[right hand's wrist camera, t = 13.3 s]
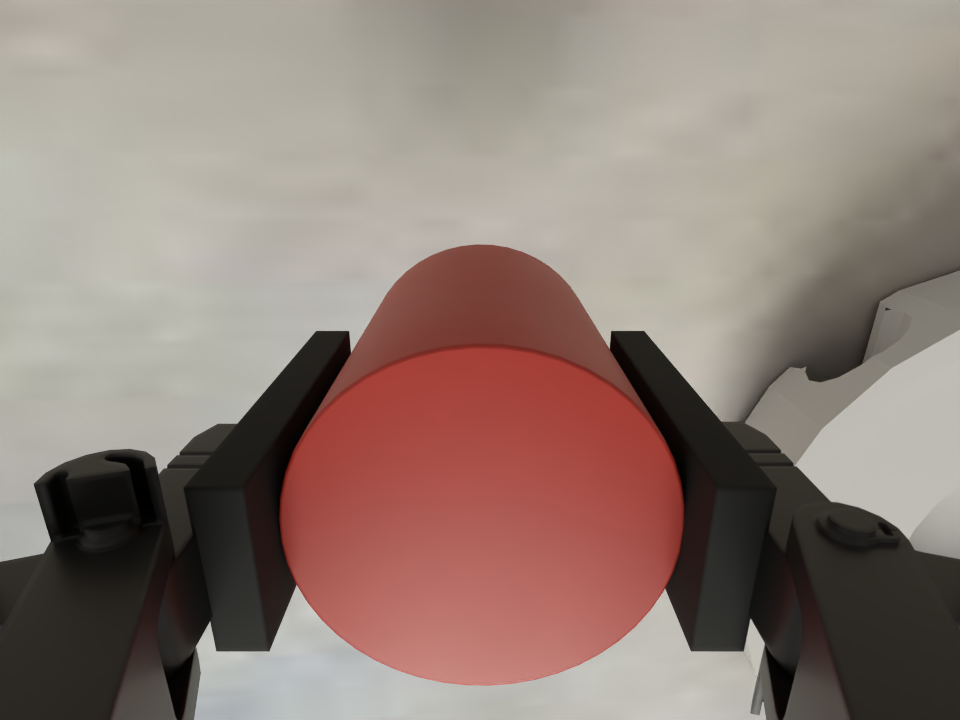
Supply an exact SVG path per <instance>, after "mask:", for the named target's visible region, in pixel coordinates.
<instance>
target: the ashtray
mask: <svg viewBox="0 0 960 720" xmlns="http://www.w3.org/2000/svg"><path fill="white" fill-rule="evenodd" d="M805 370H806V367H804V368H801V369H800V368H794V367H790V368H788V369H787V370H786V371H785V372H784V373H783V374H782V375H781V376H780V377H779V378H778V379H777V380H775V381H774V382H773V383H772V384H771V385H770V386H769V388H768V389H767V391H766V392H765V394H764V395H763V396H762V398H761V399H760V401H759V402H758V404H757V405H756V407H755V408H754V410H753V411H752V413H751V414H750V415H749V417H748V418H747V420H746V421H745V423H746V424H747V425H749V426H751V427H753V428H755V429H757V430H758V431H760V432H762V433H764V434H766V435H767V436H768V437H769V438H770V439H771V440H772V441H773V442H774V443H775V444H776V445H777V446H778V447H779V448H780V450H781V453H784V454H785V455H786V456H787V457H788V458H789V459H790V460H791V461H792V462H793V465H794V466H797V467H798V468H799V469H800V470H801V471H802V472H803V473H804V474H805V475H806V476H807V477H808V479H809V480H810V481H811V482H812V483H813V484H814V485H815V486H816V487H817V488H818V489H819V490H820V491H821V492H822V493H823V494H824V495H825V496H826V497H827V498H828V499H829V500H830V501H831V502H838V503H843V504H847V505H851V506H855V507H859V508H862V509H864V510H866V511H869V512H871V513H874V514H876V515H878V516H881V517H882V518H884V519H885V520H887V521H888V522H890V523H891V524H893V525H894V526H896V527H898V528H899V529H900V531H901V532H902V533H903V534H904V535H905V536H906V537H907V538H908V540H909V541H910V543H911V544H912V546H913V548H914V550H916V551H920V552H925V553H930V554H935V555H941V556H946V557H951V558H957V559H960V270H959V271H956V272H953V273H950V274H947V275H944V276H941V277H938V278H935V279H932V280H929V281H926V282H923V283H920V284H917V285H914V286H911V287H908V288H905V289H902V290H899V291H897V292H896V293H894V294H892V295H890V296H889V297H887V298H885V299H884V300H882V301H880V303H879V307H878V310H877V314H876V317H875V321H874V324H873V328H872V332H871V335H870V339H869V342H868V346H867V349H866V353H865V356H864V360H863V363H862V365H860V366H859V367H857V368H855V369H853V370H851V371H849V372H847V373H846V374H844V375H842V376H840V377H838V378H834V379H831V380H827V381H824V382H815V381H810V380H808V377H807V375H806V373H805ZM764 644H765V643H764V641H763V639H762V638H761V636H760V634H759V632H758V630H757V629H756V627H755V625H754V623H753V622H752V620H751V619H750V624H749V629H748V634H747V639H746V643H745V648H744V653H745V655H746V657H747V659H748V661H749V663H750V665H751V667H752V669H753V671H754V673H755V674H756V676H758V672H759V667H760V663H761V658H762V654H763V649H764Z"/></svg>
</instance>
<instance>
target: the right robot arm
mask: <svg viewBox="0 0 960 720" xmlns="http://www.w3.org/2000/svg"><path fill="white" fill-rule="evenodd" d="M610 351H611V353H612V354H613V356H614V357H615V359H616V361H617V362H618V364H619V366H620V367H621V369H622V370H623V372H624V374H625V375H626V377H627V379H628V380H629V382H630V383H631V385H632V387H633V388H634V390H635V392H636V393H637V395H638V396H639V398H640V400H641V401H642V403H643V405H644V406H645V408H646V409H647V411H648V413H649V414H650V416H651V418H652V419H653V421H654V422H655V424H656V426H657V427H658V429H659V431H660V432H661V434H662V435H663V437H664V439H665V441H666V443H667V445H668V447H669V449H670V451H671V453H672V455H673V457H674V459H675V462H676V466H677V469H678V472H679V475H680V479H681V482H682V489H683V496H684V503H685V514H684V527H683V534H682V540H681V547H680V553H679V556H678V559H677V562H676V565H675V568H674V571H673V573H672V575H671V577H670V579H669V581H668V583H667V585H666V587H665V589H666V591H667V594H668V596H669V599H670V601H671V603H672V606H673V608H674V611H675V613H676V616H677V618H678V620H679V623H680V625H681V628H682V630H683V633H684V635H685V637H686V640H687V642H688V645H689V647H690V650H691V651H744V648H745V643H746V639H747V634H748V629H749V624H750V619H751V620H752V622H753V623H754V625H755V627H756V629H757V630H758V632H759V634H760V636H761V638H762V639H763V641H764V643H765V644H764V649H763V654H762V658H761V663H760V667H759V672H758V676H757V681H756V686H755V690H754V695H753V699H752V706H751V713H752V714H756V715H759V714H760V710H761V705H762V702H763V701H764V706H765V713H766V720H960V559H957V558H951V557H946V556H941V555H935V554H930V553H925V552H920V551H916V550H914V548H913V546H912V544H911V543H910V541H909V540H908V538H907V537H906V536H905V535H904V534H903V533H902V532H901V531H900V529H899V528H898V527H896V526H894V525H893V524H891V523H890V522H888V521H887V520H885V519H884V518H882V517H881V516H878V515H876V514H874V513H871V512H869V511H866V510H864V509H862V508H859V507H855V506H851V505H847V504H843V503H838V502H831V501H830V500H829V499H828V498H827V497H826V496H825V495H824V494H823V493H822V492H821V491H820V490H819V489H818V488H817V487H816V486H815V485H814V484H813V483H812V482H811V481H810V480H809V479H808V477H807V476H806V475H805V474H804V473H803V472H802V471H801V470H800V469H799V468H798V467H797V466H794V465H793V462H792V461H791V460H790V459H789V458H788V457H787V456H786V455H785V454H784V453H781V450H780V448H779V447H778V446H777V445H776V444H775V443H774V442H773V441H772V440H771V439H770V438H769V437H768V436H767V435H766V434H764V433H762V432H760V431H758V430H757V429H755V428H753V427H751V426H749V425H747V424H746V423H744V422H721V421H720V420H719V419H718V418H717V416H716V415H715V414H714V413H713V412H712V410H711V409H710V408H709V407H708V406H707V405H706V403H705V402H704V401H703V400H702V399H701V398H700V396H699V395H698V394H697V393H696V392H695V390H694V389H693V388H692V387H691V386H690V385H689V383H688V382H687V381H686V380H685V379H684V377H683V376H682V375H681V374H680V373H679V372H678V370H677V369H676V368H675V367H674V366H673V365H672V363H671V362H670V361H669V360H668V359H667V357H666V356H665V355H664V354H663V353H662V352H661V350H660V349H659V348H658V347H657V346H656V345H655V343H654V342H653V341H652V340H651V339H650V337H649V336H648V335H647V334H646V333H645V332H644V331H611V342H610ZM350 355H351V349H350V337H349V331H316V332H315V333H314V334H313V336H312V337H311V338H310V339H309V340H308V342H307V343H306V344H305V345H304V346H303V347H302V349H301V350H300V351H299V352H298V353H297V354H296V356H295V357H294V358H293V359H292V360H291V362H290V363H289V364H288V365H287V366H286V367H285V369H284V370H283V371H282V372H281V373H280V374H279V376H278V377H277V378H276V379H275V380H274V382H273V383H272V384H271V385H270V386H269V387H268V389H267V390H266V391H265V392H264V393H263V394H262V396H261V397H260V398H259V399H258V400H257V402H256V403H255V404H254V405H253V406H252V407H251V409H250V410H249V411H248V412H247V413H246V414H245V416H244V417H243V418H242V419H241V420H240V422H239V423H238V424H217V425H215V426H213V427H212V428H210V429H208V430H206V431H204V432H203V433H201V434H199V435H197V436H195V437H194V438H193V439H192V440H191V441H190V442H189V443H188V444H187V445H186V446H185V447H184V448H183V449H182V450H181V452H180V455H177V456H176V457H175V458H174V459H173V460H172V461H171V462H170V463H169V464H168V465H167V469H163V470H162V471H161V472H160V473H159V475H158V471H157V466H156V461H155V458H154V457H153V456H151V455H150V454H148V453H147V452H144V451H138V450H133V449H122V450H108V451H103V452H98V453H93V454H89V455H85V456H82V457H79V458H77V459H74V460H71V461H68V462H65V463H63V464H61V465H59V466H58V467H56V468H54V469H52V470H50V471H48V472H47V473H45V474H44V475H43V476H42V477H41V478H40V479H39V480H38V481H36V482H35V483H34V487H35V490H36V494H37V497H38V500H39V503H40V507H41V510H42V513H43V517H44V520H45V523H46V526H47V530H48V533H49V536H50V539H51V542H50V544H49V546H48V547H47V549H46V551H45V553H44V554H40V555H34V556H29V557H24V558H19V559H13V560H8V561H3V562H0V720H194V715H195V708H196V701H197V694H198V687H199V680H200V674H201V672H200V664H199V658H198V654H197V649H196V645H197V643H198V642H199V640H200V638H201V636H202V634H203V633H204V631H205V629H206V627H207V626H208V624H209V622H211V627H212V632H213V636H214V641H215V646H216V651H270V648H271V646H272V643H273V641H274V638H275V636H276V634H277V631H278V629H279V626H280V624H281V621H282V619H283V617H284V614H285V612H286V609H287V607H288V604H289V602H290V600H291V597H292V595H293V592H294V590H295V587H296V585H297V584H296V582H295V580H294V577H293V575H292V573H291V571H290V568H289V566H288V564H287V560H286V556H285V552H284V549H283V545H282V541H281V531H280V522H279V509H280V494H281V489H282V484H283V480H284V475H285V471H286V469H287V466H288V464H289V461H290V458H291V456H292V453H293V451H294V449H295V447H296V445H297V444H298V442H299V440H300V438H301V437H302V435H303V433H304V431H305V430H306V428H307V426H308V425H309V423H310V421H311V420H312V418H313V416H314V415H315V413H316V411H317V410H318V408H319V406H320V405H321V403H322V401H323V400H324V398H325V396H326V395H327V393H328V391H329V390H330V388H331V386H332V385H333V383H334V381H335V380H336V378H337V376H338V375H339V373H340V371H341V370H342V368H343V366H344V365H345V363H346V361H347V360H348V358H349V356H350Z"/></svg>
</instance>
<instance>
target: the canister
mask: <svg viewBox="0 0 960 720" xmlns="http://www.w3.org/2000/svg"><path fill="white" fill-rule="evenodd" d="M684 514H685V503H684V496H683V489H682V482H681V479H680V475H679V472H678V469H677V466H676V462H675V459H674V457H673V455H672V453H671V451H670V449H669V447H668V445H667V443H666V441H665V439H664V437H663V435H662V434H661V432H660V431H659V429H658V427H657V426H656V424H655V422H654V421H653V419H652V418H651V416H650V414H649V413H648V411H647V409H646V408H645V406H644V405H643V403H642V401H641V400H640V398H639V396H638V395H637V393H636V392H635V390H634V388H633V387H632V385H631V383H630V382H629V380H628V379H627V377H626V375H625V374H624V372H623V370H622V369H621V367H620V366H619V364H618V362H617V361H616V359H615V357H614V356H613V354H612V353H611V351H610V349H609V348H608V346H607V344H606V343H605V341H604V339H603V338H602V336H601V335H600V333H599V331H598V330H597V328H596V326H595V325H594V323H593V322H592V320H591V318H590V317H589V315H588V313H587V312H586V310H585V309H584V307H583V305H582V304H581V302H580V300H579V299H578V297H577V296H576V294H575V293H574V292H573V290H572V289H571V287H570V286H569V285H568V284H567V283H566V281H565V280H564V279H563V278H562V277H561V276H560V275H559V274H558V273H556V272H555V271H554V270H553V269H552V268H550V267H549V266H548V265H546V264H545V263H543V262H541V261H540V260H538V259H536V258H534V257H532V256H530V255H528V254H526V253H523V252H521V251H517V250H514V249H511V248H507V247H501V246H495V245H468V246H460V247H456V248H452V249H448V250H445V251H442V252H439V253H437V254H434V255H432V256H430V257H428V258H426V259H424V260H423V261H421V262H419V263H418V264H416V265H415V266H413V267H412V268H411V269H409V270H408V271H407V272H406V273H405V274H404V275H403V276H402V277H401V278H400V279H399V280H398V281H396V283H395V284H394V285H393V287H392V288H391V289H390V290H389V292H388V293H387V294H386V296H385V298H384V299H383V301H382V303H381V304H380V306H379V308H378V309H377V311H376V313H375V314H374V316H373V318H372V319H371V321H370V323H369V324H368V326H367V328H366V330H365V331H364V333H363V335H362V336H361V338H360V340H359V341H358V343H357V345H356V346H355V348H354V350H353V351H352V353H351V355H350V356H349V358H348V360H347V361H346V363H345V365H344V366H343V368H342V370H341V371H340V373H339V375H338V376H337V378H336V380H335V381H334V383H333V385H332V386H331V388H330V390H329V391H328V393H327V395H326V396H325V398H324V400H323V401H322V403H321V405H320V406H319V408H318V410H317V411H316V413H315V415H314V416H313V418H312V420H311V421H310V423H309V425H308V426H307V428H306V430H305V431H304V433H303V435H302V437H301V438H300V440H299V442H298V444H297V445H296V447H295V449H294V451H293V453H292V456H291V458H290V461H289V464H288V466H287V469H286V471H285V475H284V480H283V484H282V489H281V494H280V509H279V522H280V531H281V541H282V545H283V549H284V552H285V556H286V560H287V564H288V566H289V568H290V571H291V573H292V575H293V577H294V580H295V582H296V584H297V586H298V587H299V589H300V591H301V592H302V594H303V596H304V597H305V599H306V601H307V602H308V603H309V605H310V606H311V607H312V608H313V610H314V611H315V612H316V613H317V615H318V616H319V617H320V618H321V619H322V621H324V622H325V623H326V624H327V625H328V626H329V627H330V628H331V629H332V630H333V631H334V632H335V633H336V634H337V635H338V636H340V637H341V638H342V639H344V640H345V641H346V642H348V643H349V644H350V645H352V646H353V647H354V648H356V649H357V650H359V651H361V652H362V653H364V654H366V655H367V656H369V657H371V658H373V659H374V660H376V661H378V662H380V663H383V664H385V665H387V666H389V667H392V668H394V669H396V670H399V671H402V672H405V673H408V674H411V675H414V676H417V677H420V678H425V679H430V680H434V681H439V682H444V683H453V684H461V685H501V684H513V683H518V682H524V681H530V680H535V679H539V678H542V677H546V676H549V675H553V674H557V673H559V672H562V671H564V670H567V669H569V668H572V667H574V666H577V665H579V664H581V663H583V662H585V661H587V660H589V659H591V658H593V657H595V656H597V655H598V654H600V653H602V652H603V651H605V650H606V649H608V648H609V647H611V646H612V645H613V644H615V643H616V642H618V641H619V640H620V639H622V638H623V637H624V636H625V635H626V634H627V633H628V632H630V631H631V630H632V629H633V628H634V627H635V626H636V625H637V624H638V623H639V622H640V621H641V620H642V619H643V618H644V616H645V615H646V614H647V613H648V612H649V611H650V610H651V608H652V607H653V606H654V604H655V603H656V601H657V600H658V598H659V597H660V595H661V594H662V593H663V591H664V589H665V587H666V585H667V583H668V581H669V579H670V577H671V575H672V573H673V571H674V568H675V565H676V562H677V559H678V556H679V553H680V547H681V540H682V534H683V527H684Z"/></svg>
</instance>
